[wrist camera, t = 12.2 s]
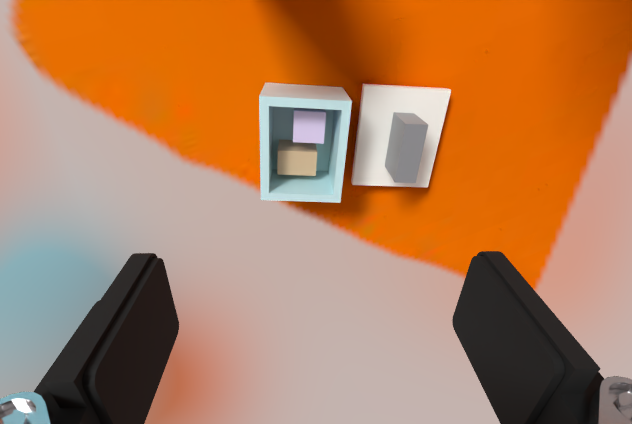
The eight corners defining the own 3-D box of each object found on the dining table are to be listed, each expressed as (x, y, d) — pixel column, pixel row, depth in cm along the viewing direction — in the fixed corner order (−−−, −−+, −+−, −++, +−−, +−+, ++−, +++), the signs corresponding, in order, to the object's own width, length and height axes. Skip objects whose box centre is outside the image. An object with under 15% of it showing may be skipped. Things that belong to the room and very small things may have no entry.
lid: (361, 82, 36) (373, 93, 30) (444, 86, 37) (470, 99, 31) (350, 178, 41) (358, 203, 36) (422, 181, 42) (442, 205, 36)
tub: (265, 82, 35) (259, 96, 29) (342, 87, 36) (352, 101, 30) (266, 172, 40) (260, 200, 34) (333, 175, 41) (340, 202, 35)
